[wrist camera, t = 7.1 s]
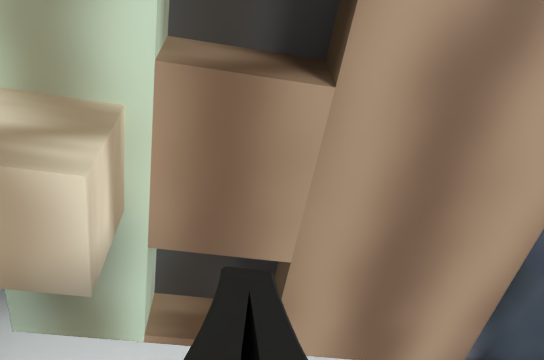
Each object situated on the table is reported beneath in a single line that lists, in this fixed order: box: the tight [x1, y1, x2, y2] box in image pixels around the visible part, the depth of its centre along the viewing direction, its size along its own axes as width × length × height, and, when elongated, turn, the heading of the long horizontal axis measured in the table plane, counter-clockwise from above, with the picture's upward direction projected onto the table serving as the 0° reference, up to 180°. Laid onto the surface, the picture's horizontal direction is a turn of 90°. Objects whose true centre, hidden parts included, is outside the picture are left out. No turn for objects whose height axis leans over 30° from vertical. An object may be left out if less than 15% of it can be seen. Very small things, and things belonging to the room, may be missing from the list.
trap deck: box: [0, 0, 544, 360], centre depth 19 cm, size 22×20×3 cm
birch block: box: [0, 88, 125, 297], centre depth 15 cm, size 4×4×4 cm
